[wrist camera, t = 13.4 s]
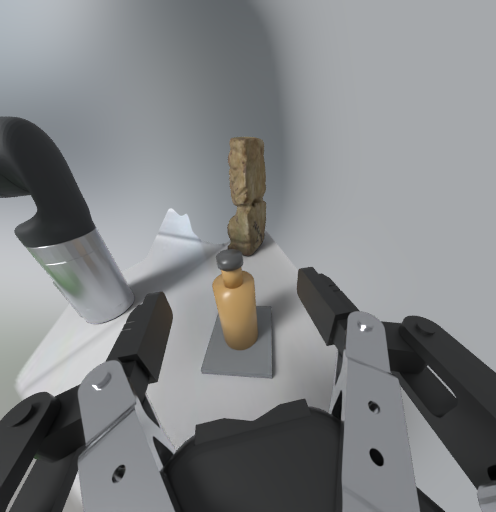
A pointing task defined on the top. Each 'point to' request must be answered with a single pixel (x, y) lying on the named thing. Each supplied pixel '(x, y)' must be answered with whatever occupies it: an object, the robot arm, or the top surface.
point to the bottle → (235, 301)
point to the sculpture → (247, 194)
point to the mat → (241, 351)
